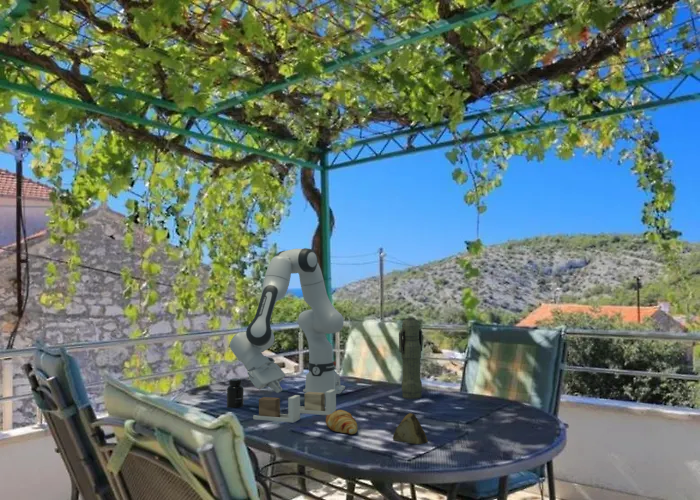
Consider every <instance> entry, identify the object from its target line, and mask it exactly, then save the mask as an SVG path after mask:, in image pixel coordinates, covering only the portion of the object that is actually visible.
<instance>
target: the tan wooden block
mask: <svg viewBox="0 0 700 500" xmlns="http://www.w3.org/2000/svg"><path fill="white" fill-rule="evenodd" d="M304 407H305V410H315V411H325V408H326V397H325V393H319V392H307V393H306V392H304Z"/></svg>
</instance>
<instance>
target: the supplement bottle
mask: <svg viewBox="0 0 700 500" xmlns="http://www.w3.org/2000/svg"><path fill="white" fill-rule="evenodd" d="M243 406H244V386H243V385H242V379H241V378H231V379H229V385H228V387H226V408H227V409H229V408H231V409H236V408H243Z"/></svg>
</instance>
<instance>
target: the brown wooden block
mask: <svg viewBox="0 0 700 500" xmlns="http://www.w3.org/2000/svg"><path fill="white" fill-rule="evenodd" d="M280 414H281V398H280V397H269V396H263V397H261V398H258V416H269V417H280Z"/></svg>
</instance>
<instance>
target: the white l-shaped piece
mask: <svg viewBox="0 0 700 500" xmlns="http://www.w3.org/2000/svg"><path fill="white" fill-rule="evenodd" d="M335 411H337V394H336V390H333V389H331V390H329V391H327V392H325V411H315V410H305V406H303V405H302V406H301V405H300V414H304V415H305V414H306V415H318V416H319V415H320V416H327V415H329V414H332V413H333V412H335Z"/></svg>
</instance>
